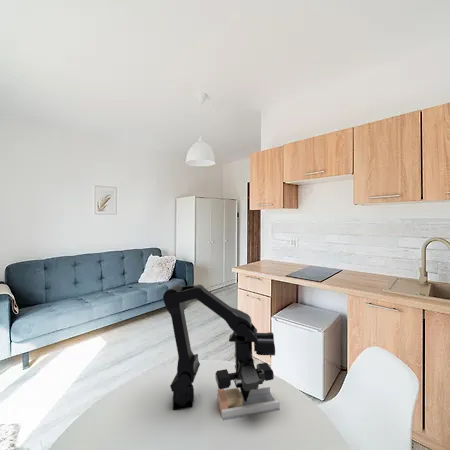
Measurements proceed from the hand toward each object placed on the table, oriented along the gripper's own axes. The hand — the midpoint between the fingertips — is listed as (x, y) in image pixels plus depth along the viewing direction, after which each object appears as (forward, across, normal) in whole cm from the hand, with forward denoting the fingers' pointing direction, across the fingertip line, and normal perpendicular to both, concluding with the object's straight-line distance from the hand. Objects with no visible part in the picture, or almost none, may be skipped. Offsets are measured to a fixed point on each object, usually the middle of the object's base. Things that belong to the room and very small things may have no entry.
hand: (245, 400), depth 80 cm
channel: (+2, +1, 0) cm, 2 cm away
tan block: (+1, -4, 0) cm, 4 cm away
